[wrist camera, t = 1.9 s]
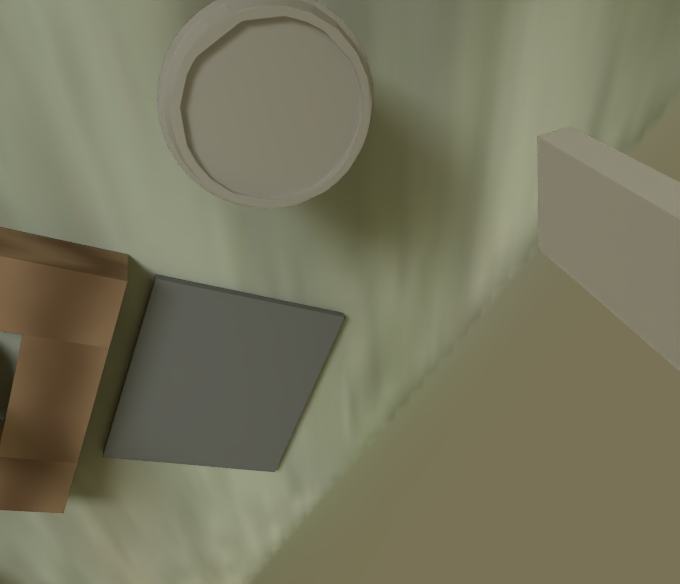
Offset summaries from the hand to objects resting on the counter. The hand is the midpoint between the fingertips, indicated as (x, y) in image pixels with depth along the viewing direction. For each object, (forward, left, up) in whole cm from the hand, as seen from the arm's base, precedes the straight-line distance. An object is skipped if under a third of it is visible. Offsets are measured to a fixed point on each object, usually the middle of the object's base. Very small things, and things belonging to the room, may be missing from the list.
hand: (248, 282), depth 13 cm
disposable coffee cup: (+3, 0, -28) cm, 28 cm away
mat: (+9, -23, -27) cm, 37 cm away
